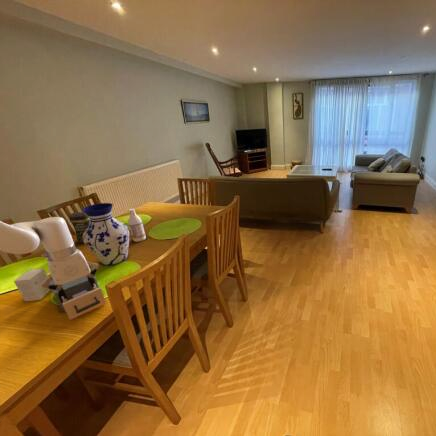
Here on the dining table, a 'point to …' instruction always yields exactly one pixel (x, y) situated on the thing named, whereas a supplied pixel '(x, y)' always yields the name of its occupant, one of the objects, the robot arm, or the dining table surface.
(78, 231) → the coffee jar
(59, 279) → the robot arm
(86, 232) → the vase
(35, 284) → the small box
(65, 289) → the drawer box
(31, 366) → the dining table surface
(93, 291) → the sliding drawer
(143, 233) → the bath foam
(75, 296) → the lavender rounded block
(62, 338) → the dining table surface
